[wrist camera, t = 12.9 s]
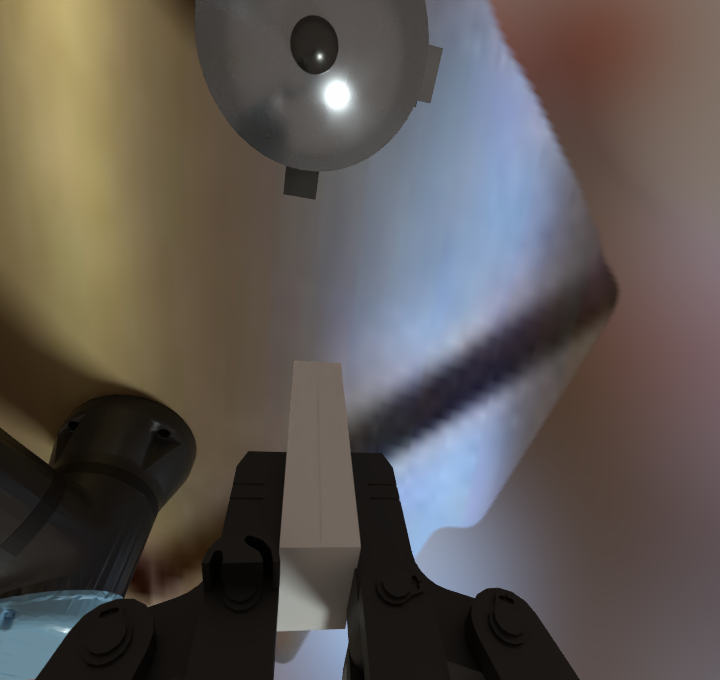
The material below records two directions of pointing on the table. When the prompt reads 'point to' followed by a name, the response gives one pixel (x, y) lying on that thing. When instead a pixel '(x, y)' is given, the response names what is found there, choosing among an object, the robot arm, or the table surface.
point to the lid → (316, 74)
